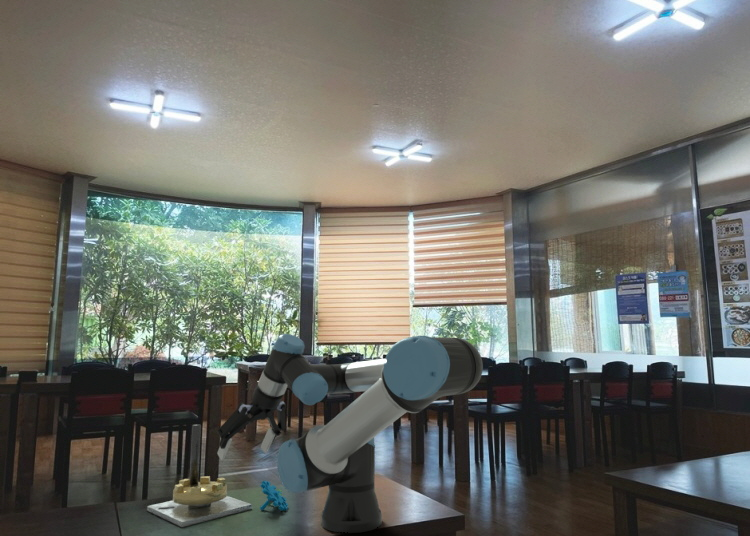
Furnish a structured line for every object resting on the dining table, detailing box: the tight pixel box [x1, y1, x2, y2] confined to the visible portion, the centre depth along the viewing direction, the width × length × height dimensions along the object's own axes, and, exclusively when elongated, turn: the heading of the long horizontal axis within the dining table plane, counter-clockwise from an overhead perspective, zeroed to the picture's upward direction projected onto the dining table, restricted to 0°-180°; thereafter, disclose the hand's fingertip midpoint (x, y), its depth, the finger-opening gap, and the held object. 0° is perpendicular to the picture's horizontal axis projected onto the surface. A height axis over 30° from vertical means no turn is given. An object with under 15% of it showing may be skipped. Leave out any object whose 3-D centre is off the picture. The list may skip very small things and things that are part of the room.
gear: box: [259, 480, 289, 512], centre depth 138 cm, size 11×6×10 cm
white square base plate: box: [146, 495, 253, 528], centre depth 138 cm, size 20×20×3 cm
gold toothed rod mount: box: [172, 424, 228, 505], centre depth 140 cm, size 14×14×18 cm
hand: (242, 453), depth 138 cm, fingers open, 13 cm apart
